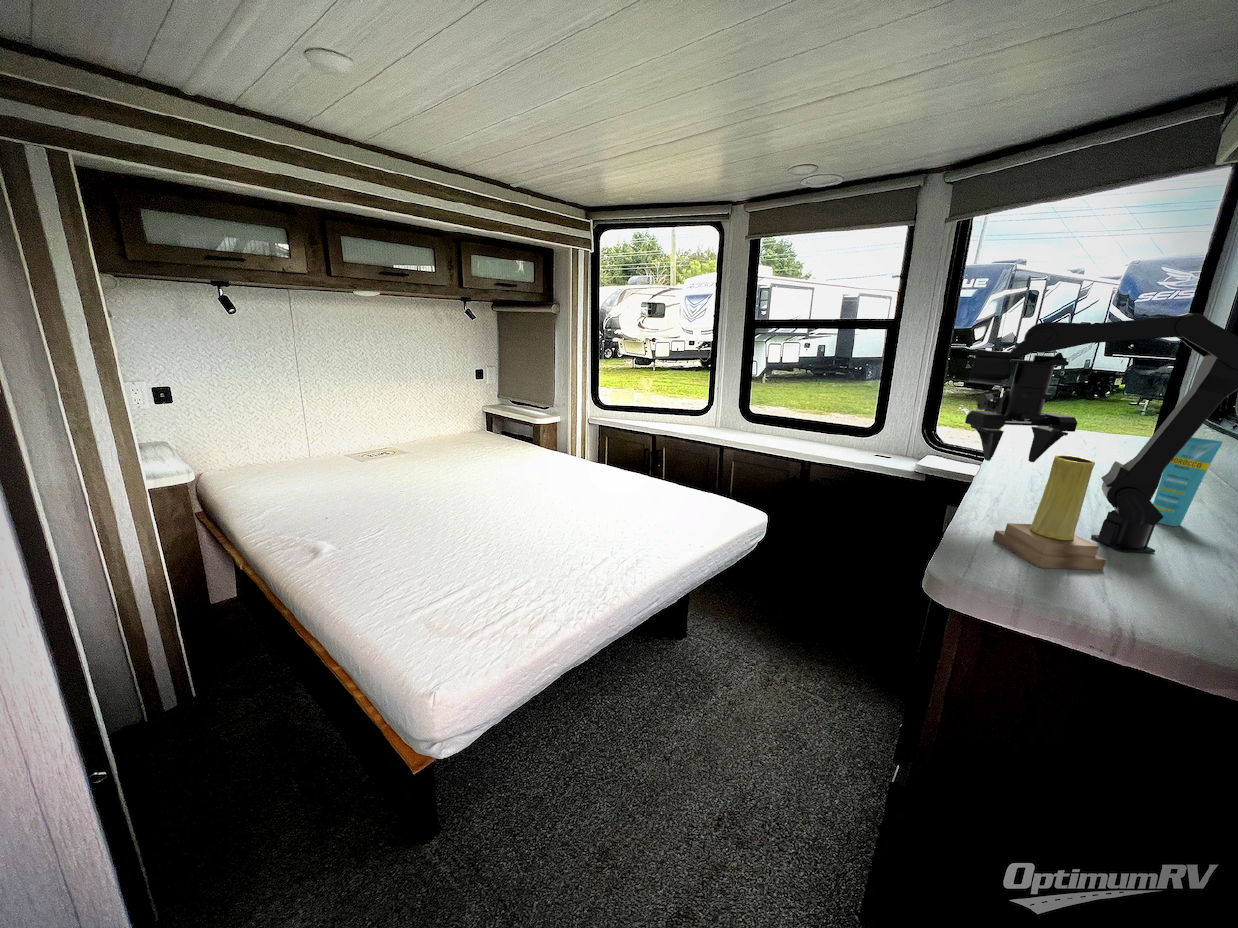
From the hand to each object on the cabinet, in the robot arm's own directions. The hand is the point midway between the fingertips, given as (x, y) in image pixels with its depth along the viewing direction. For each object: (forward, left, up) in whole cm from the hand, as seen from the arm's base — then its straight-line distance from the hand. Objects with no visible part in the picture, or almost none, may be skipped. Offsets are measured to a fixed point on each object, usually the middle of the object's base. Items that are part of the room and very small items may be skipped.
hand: (1009, 461), depth 101 cm
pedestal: (+3, +17, -13) cm, 22 cm away
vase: (+3, +17, -9) cm, 20 cm away
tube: (-38, -1, -13) cm, 40 cm away
